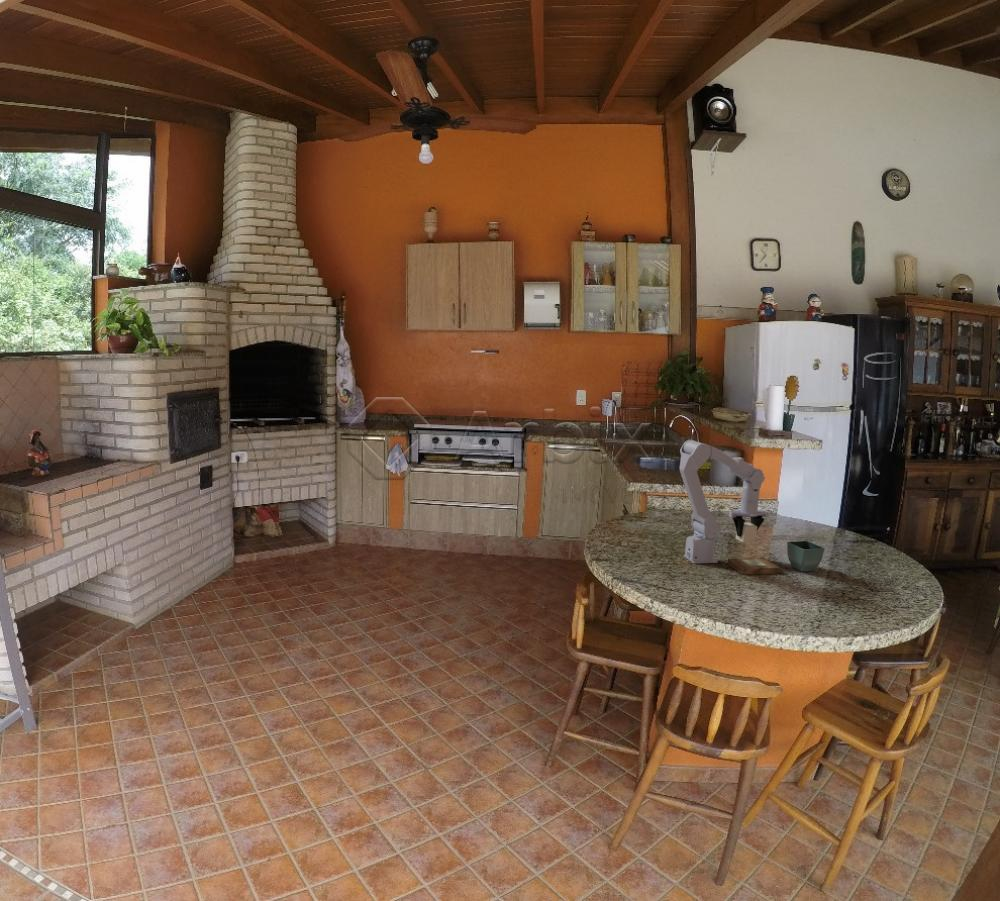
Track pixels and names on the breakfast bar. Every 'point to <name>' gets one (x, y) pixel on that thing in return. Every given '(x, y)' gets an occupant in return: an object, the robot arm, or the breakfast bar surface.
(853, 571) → the breakfast bar surface
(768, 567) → the walnut base
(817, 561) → the flower pot
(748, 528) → the cream block
